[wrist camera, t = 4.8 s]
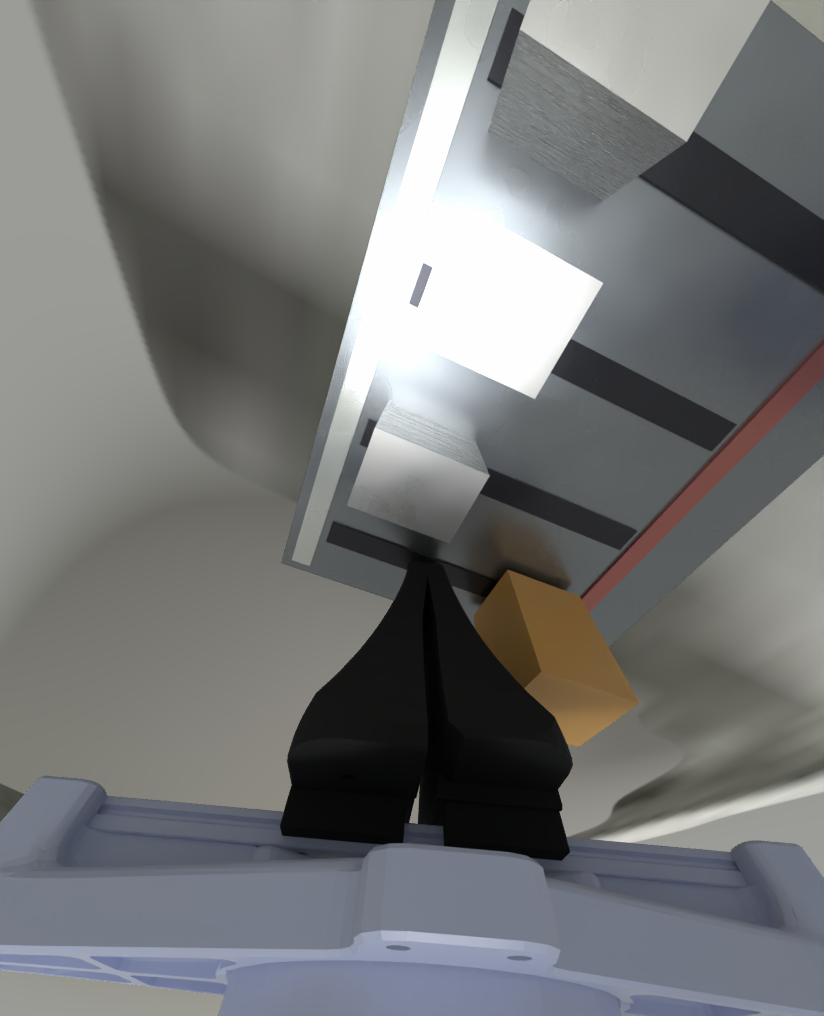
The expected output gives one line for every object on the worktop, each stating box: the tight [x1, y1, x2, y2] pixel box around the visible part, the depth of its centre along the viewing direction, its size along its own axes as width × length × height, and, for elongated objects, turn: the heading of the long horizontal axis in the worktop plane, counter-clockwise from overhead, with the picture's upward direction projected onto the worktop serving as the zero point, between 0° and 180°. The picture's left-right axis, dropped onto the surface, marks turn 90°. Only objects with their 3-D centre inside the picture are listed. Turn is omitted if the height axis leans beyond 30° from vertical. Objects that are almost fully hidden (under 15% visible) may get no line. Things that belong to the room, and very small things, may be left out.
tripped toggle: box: [473, 570, 639, 747], centre depth 12 cm, size 4×3×4 cm
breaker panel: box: [281, 0, 824, 647], centre depth 10 cm, size 16×18×4 cm
